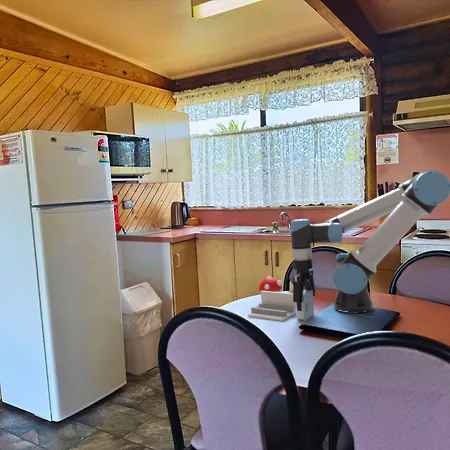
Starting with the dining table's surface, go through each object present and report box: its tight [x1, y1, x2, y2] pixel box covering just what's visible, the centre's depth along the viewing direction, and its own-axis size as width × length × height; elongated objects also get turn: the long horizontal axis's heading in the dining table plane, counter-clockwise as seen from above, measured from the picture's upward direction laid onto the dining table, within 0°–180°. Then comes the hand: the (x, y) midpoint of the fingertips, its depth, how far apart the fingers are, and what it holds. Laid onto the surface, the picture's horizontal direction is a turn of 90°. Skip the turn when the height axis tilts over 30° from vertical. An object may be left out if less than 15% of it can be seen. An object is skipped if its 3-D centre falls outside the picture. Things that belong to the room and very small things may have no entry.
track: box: [247, 291, 297, 322], centre depth 171 cm, size 16×12×8 cm
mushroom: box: [258, 276, 283, 292], centre depth 189 cm, size 11×11×12 cm
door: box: [296, 289, 315, 322], centre depth 165 cm, size 8×4×10 cm, turn 144°
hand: (305, 315), depth 165 cm, fingers closed on door, 8 cm apart
